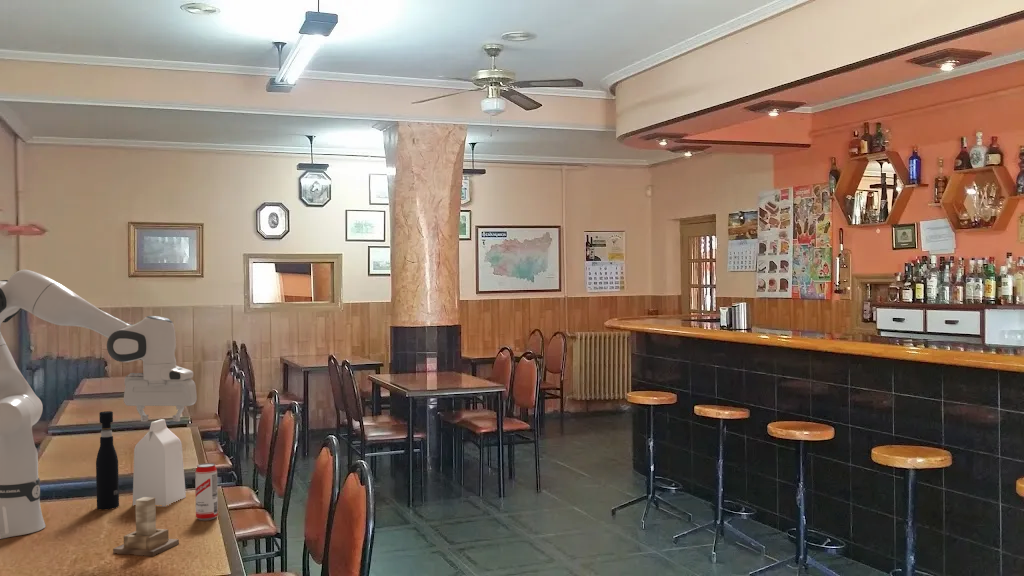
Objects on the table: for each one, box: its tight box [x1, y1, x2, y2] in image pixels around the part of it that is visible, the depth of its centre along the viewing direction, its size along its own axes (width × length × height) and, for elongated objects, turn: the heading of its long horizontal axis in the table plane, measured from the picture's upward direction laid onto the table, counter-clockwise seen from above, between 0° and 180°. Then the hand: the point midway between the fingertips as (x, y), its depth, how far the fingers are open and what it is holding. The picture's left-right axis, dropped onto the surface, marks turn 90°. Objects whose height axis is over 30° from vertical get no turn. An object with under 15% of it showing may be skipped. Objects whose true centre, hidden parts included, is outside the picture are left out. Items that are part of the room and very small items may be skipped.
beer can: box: [194, 462, 219, 521], centre depth 271 cm, size 6×6×16 cm
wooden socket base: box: [112, 528, 180, 557], centre depth 241 cm, size 12×11×4 cm
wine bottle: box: [95, 410, 120, 510], centre depth 285 cm, size 6×6×30 cm
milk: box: [132, 418, 187, 507], centre depth 292 cm, size 12×12×26 cm
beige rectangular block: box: [135, 497, 157, 536], centre depth 241 cm, size 4×4×12 cm
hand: (160, 421), depth 259 cm, fingers open, 8 cm apart
